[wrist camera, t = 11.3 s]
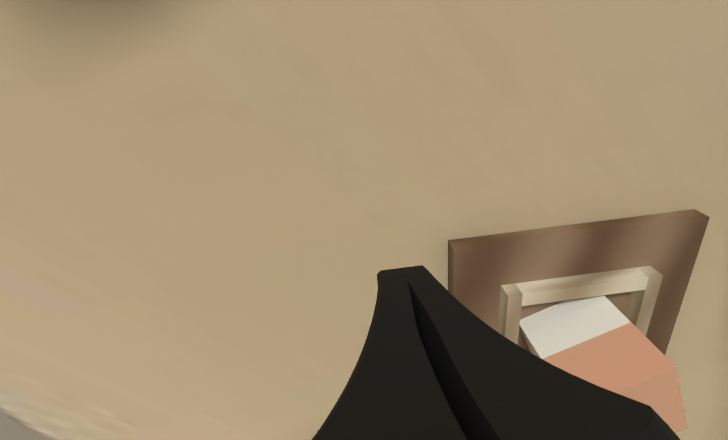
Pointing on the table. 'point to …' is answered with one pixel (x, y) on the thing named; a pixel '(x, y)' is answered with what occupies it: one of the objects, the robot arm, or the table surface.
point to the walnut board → (580, 270)
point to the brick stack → (606, 353)
